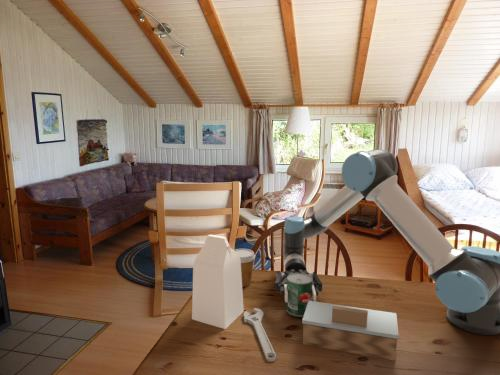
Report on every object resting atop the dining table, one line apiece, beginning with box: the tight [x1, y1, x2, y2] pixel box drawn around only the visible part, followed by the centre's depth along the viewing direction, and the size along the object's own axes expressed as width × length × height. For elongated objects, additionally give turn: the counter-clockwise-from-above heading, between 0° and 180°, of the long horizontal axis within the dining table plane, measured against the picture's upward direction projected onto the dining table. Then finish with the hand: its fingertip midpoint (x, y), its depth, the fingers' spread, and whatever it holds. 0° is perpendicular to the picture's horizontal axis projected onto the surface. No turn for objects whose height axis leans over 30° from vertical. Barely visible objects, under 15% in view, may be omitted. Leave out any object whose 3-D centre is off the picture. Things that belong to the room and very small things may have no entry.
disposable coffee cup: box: [233, 248, 256, 288], centre depth 143 cm, size 10×10×12 cm
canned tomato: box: [286, 273, 313, 318], centre depth 121 cm, size 8×8×11 cm
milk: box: [191, 234, 245, 330], centre depth 119 cm, size 12×12×26 cm
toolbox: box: [302, 323, 398, 361], centre depth 108 cm, size 24×11×6 cm, turn 73°
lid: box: [301, 300, 400, 340], centre depth 106 cm, size 25×11×5 cm, turn 73°
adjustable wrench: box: [243, 307, 277, 363], centre depth 111 cm, size 25×6×2 cm, turn 8°
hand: (300, 298), depth 116 cm, fingers closed on canned tomato, 8 cm apart
